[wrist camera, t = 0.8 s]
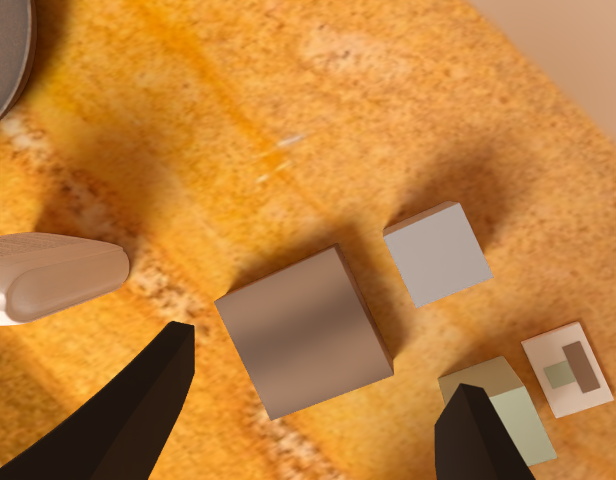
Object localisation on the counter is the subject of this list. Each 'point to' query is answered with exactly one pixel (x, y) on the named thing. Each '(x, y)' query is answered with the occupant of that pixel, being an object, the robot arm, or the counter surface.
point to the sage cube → (506, 405)
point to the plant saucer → (16, 49)
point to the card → (567, 370)
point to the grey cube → (436, 253)
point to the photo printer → (55, 274)
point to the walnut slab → (305, 333)
